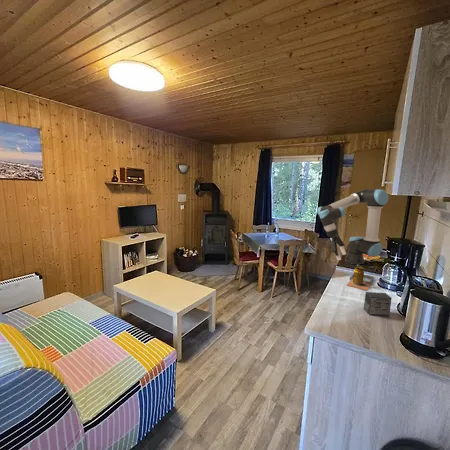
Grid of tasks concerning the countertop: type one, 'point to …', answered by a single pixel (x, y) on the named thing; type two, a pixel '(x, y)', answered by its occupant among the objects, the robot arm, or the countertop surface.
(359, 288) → the tile
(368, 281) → the holder
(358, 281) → the condiment
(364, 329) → the countertop surface
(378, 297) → the small box
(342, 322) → the countertop surface
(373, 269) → the countertop surface
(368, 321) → the countertop surface
